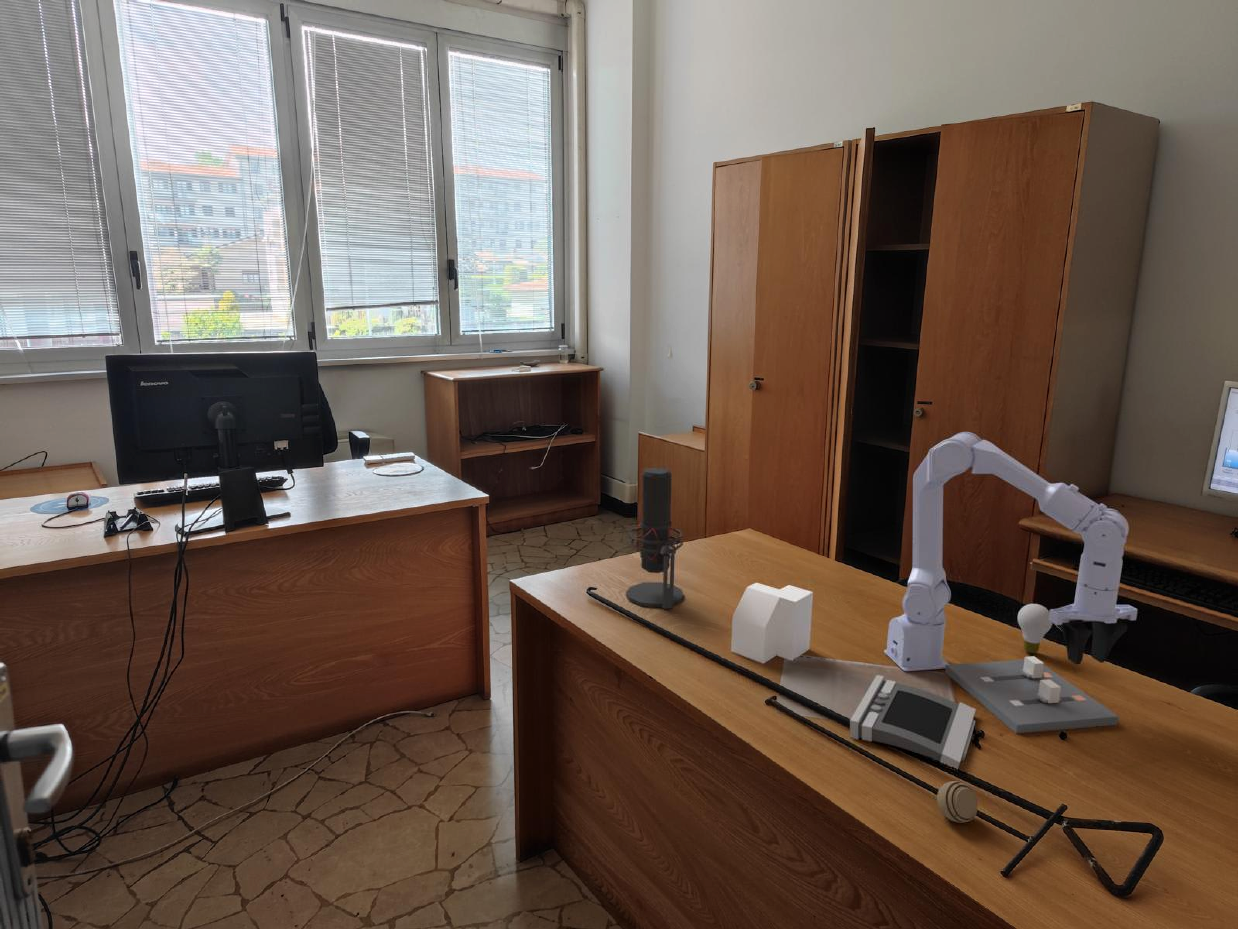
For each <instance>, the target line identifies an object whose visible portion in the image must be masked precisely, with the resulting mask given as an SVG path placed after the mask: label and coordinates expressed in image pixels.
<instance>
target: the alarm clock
mask: <svg viewBox="0 0 1238 929" xmlns="http://www.w3.org/2000/svg"><path fill="white" fill-rule="evenodd" d="M884 676H885V675H878V674H877V675H875V677H874V679H873V681H872V682H871V684H870V686H869V687H868V690H866V692H865V695H864V696H863V697H862V699H861V700H860V702H859V704H858V706H857V708H856V709H855V711H854V712H853V714H852V715H851V718H850V719H849V737H850V738H851V739H853V740H859V739H860V738H861V740H863V741H868V742H870V743H871V742H873V741H874V742H878V743H882V744H886V745H891V746H894V747H897V748H901V749H905V750H907V751H910V752H913V753H916V754H918V753H919V755H921V754H922V755H921V756H923V755H925V756H924V757H926V756H928V757H931V758H933V759H934V760H933V759H932V760H933V761H935V760H938V761H940V762H941V763H944V764H947V765H948V766H950V767H954V768H956V769H957V770H958V768H959V766H960V763H961V762H965V758H966V757H967V753H968V751H969V750H968V749H969V746H970V742H971V738H972V736H973V732H974V728H975V725H976V722H977V721H976V720H975V719H974V717H975V714H976V710H977V709H976V708H974V707H971V706H969V705H967V704H965V703H963V702H959V703H957V702H955V701H953V700H950V699H948V698H946V697H944V696H941V695H938V694H935V693H933V692H930V691H929V690H928V691H927V690H923V689H921V688H917V687H914V686H911V685H906V684H902V683H898V682H897V681H895V680H889V679H887V680H885V677H884ZM928 757H927V758H928Z"/></svg>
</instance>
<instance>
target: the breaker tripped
mask: <svg viewBox="0 0 1238 929" xmlns="http://www.w3.org/2000/svg"><path fill="white" fill-rule="evenodd" d="M1060 690H1061V687H1060V686H1059V685H1057V684H1056V683H1054V682H1053V681H1051V680H1050V679H1049V680H1040V686H1039V693H1038V694H1036V697H1038V698H1039V699H1040V700H1042V701H1043V702H1044V703H1045V702H1048V703H1058V702H1059V701H1061V698H1060Z"/></svg>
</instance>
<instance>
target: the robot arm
mask: <svg viewBox="0 0 1238 929" xmlns="http://www.w3.org/2000/svg"><path fill="white" fill-rule="evenodd" d="M970 468H972V470H971V474H973V475H977V474H978V475H980V474H981V475H983V474H987V475H988V474H989V475H990V474H991V475H994V476H996V477H999V478H1000V479H1002V480H1004V481H1005V482H1007V483H1008V484H1010V485H1011V486H1014V487H1015V488H1017V489H1019V490H1021V491H1022V492H1024V493H1025V494H1027V495H1029V496H1030V497H1032V498H1034V499H1036V501H1037V503H1038V507H1039V511H1041V512H1042V513H1044V514H1045V515H1047V516H1049V517H1050V518H1052V519H1053V520H1055V522H1058V523H1059V524H1061V525H1062V526H1064V527H1065V528H1066V529H1068V530H1070V531H1072V532H1073V533H1074V534H1078V535H1080V536H1081V538H1082V541H1083V543H1084V544H1083V545H1084V546H1083V552H1082V554H1081V555H1080V560H1079V561H1080V562H1079V566H1078V575H1077V581H1076V589H1075V595H1074V602H1073V603H1072V604H1071V603H1070V604H1067V605H1065V606H1061V607H1058V608H1051V609H1049V612H1050V613H1049V621H1051V622H1052V624H1054V625H1056V626H1059V627H1060V631H1061V633H1062V635H1063V638H1064V642H1065V648H1066V652H1067V660H1068V661H1070V662H1072V663H1073V664H1075V665H1081V663H1082V661H1083V658H1084V653H1085V652H1084V651H1085V648H1086V645H1087V642H1088V640H1089V638H1090V636H1091V635H1092V643H1091V649H1090V650H1091V653H1090V654H1091V658H1092V659H1094V660H1096V662H1099V663H1100V664H1101V663H1102V664H1103V663H1105V661H1106V660H1107V658H1108V657H1109V653H1110V652H1111V650H1112V648H1113V647H1114V645H1115V643H1116V642H1117V641H1118V640H1119V639H1120V638H1121V636H1122V635H1123V634H1125V633H1126V632H1127V630H1128V625H1127V624H1126V623H1124V622H1122V620H1125V619H1126V620H1129V621H1136V620H1137V616H1138V608H1136V607H1134V606H1132V605H1129V604H1117V601H1118V593H1119V588H1120V582H1121V581H1120V580H1121V574H1122V568H1123V562H1124V561H1123V557H1124V552H1125V550H1124V546H1125V544H1126V542H1127V536H1128V534H1129V529H1130V528H1129V523H1128V520H1127V519H1126V518H1125V517H1124V515H1122V513H1120V511H1118V510H1116V509H1113V508H1108V507H1107V505H1105V503H1100V504H1098V503H1097V502H1095V501H1094V500H1092V499H1090V498H1089V497H1087V496H1085V495H1084V494H1082V493H1081V492H1079V489H1080V488H1079V487H1078V486H1077V485H1075V484H1074V483H1071V484H1070V485H1067V484H1066V483H1064V482H1056V483H1050V482H1049V481H1047V480H1045V479H1044V478H1043V477H1041V476H1040V475H1038V474H1037V473H1035V472H1034V471H1032V470H1031V469H1030V468H1028V467H1027V466H1026V465H1023V464H1022V463H1021V462H1019V461H1018V460H1017V459H1015V458H1014V457H1012V456H1011V455H1009V454H1008V453H1006V452H1004V451H1003V450H1002V449H1000V448H999V447H998V446H996V445H995V444H993V443H992V442H990V441H988V440H986V439H981V438H980V437H979V436H978V435H977V434H975V433H973V432H969V431H962V432H958V433H956V434H954V435H952V436H951V437H950V438H947V439H944V440H942V441H941V442H939V443H938V444H936V445H934V446H933V447H932V448H930V449H929V450H928V453H927V455H926V456H925V457H924V459H923V460H922V462H921V463H920V465H919V466H918V468H917V469H916V470H915V472H914V473H913V477H912V569H911V572H910V575H909V577H908V579H907V587H906V588H907V589H906V592H905V594H904V596H903V597H902V600H901V601H902V603H901V606H902V610H903V612H904V613H903V614H902V615H900V616H897V617H892V618H891V619H890V621H889V622H888V629H887V640H886V641H887V642H886V649H884V651H883V652H884V654H885V655H886V656H888V657H889V658H890V660H892V661H893V662H894V663H895V664H896V665H897V666H898V667H899V668H900V669H901V670H903V671H904V672H913V671H914V672H915V671H916V672H917V671H927V670H928V671H929V670H939V669H940V670H942V669H944V670H945V668H946V665H951V664H950V663H949V662H948V661H946V660H945V659H944V658H943V657H942V656H943V648H944V640H945V638H944V637H945V630H946V621H947V617H946V614H945V612H944V607H947V606H946V605H948V604H949V602H950V601H951V598H952V593H951V592H952V591H951V589H950V586H949V585H948V582H947V579H946V577H947V574H946V571H945V569H944V568H943V541H944V540H943V537H944V536H943V534H944V533H943V532H944V531H943V528H944V527H943V525H944V522H943V521H944V519H943V518H944V484H946V483H947V482H948V481H949V480H950V479H952V478H953V477H954V476H958V475H961V474H962V473H965V472H966V471H967V470H968V469H970ZM1084 622H1091V626H1092V627H1091V628H1092V630H1091V629H1090V628H1088V627H1086V623H1084Z"/></svg>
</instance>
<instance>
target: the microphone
mask: <svg viewBox="0 0 1238 929" xmlns="http://www.w3.org/2000/svg"><path fill="white" fill-rule="evenodd" d="M641 475H642V480H641V482H642V484H641V485H642V488H641V489H642V490H641V491H642V492H641V500H642V502H641V521H640V523H639V524H638V525H637V527H635V528H634V529H631V531H630V532H629V533H628V536H629V538H630V540H629V542H628V543H629V545H630V548H631V549H634V550H636V551H637V552H638V553H639V554H640V555H639V557H640V558H641V563H640V565H641V566H640V567H641V569H643V570H645V571H646V572H647V573H651V574H652V573H653V574H660V573H663V577H662V578H663V580H662V581H663V582H662V581H656V582H654V581H653V582H652V581H650V582H647V581H646V582H641V583H638V584H635V585H631V586H630V587H628V589H627V590H626V592H625V595H626V598H627V600H628V601H629V602H631V603H632V604H636V605H638V606H641V607H644V608H645V607H646V608H648V607H649V608H662V609H663V610H666V609H673V608H674V605H676V604H679V603H681V601H682V600H683V598H684V596H685V595H684V592H683V590H682V588H680V587H678V586H676V585H674V584H675V557H676V555H675V554H676V553H677V551H678V550H679V549H680V548H681V547H682V546H684V542H683V541H682V540H681V539H682V538H683V534H682V531H681V530H680V529H678V528H674V527H673V526H672V521H671V519H672V518H671V517H672V516H671V515H672V514H671V512H672V510H671V508H672V472H671V469H670V468H669V469H668V468H664V467H647V468H646V469H644V470H642V474H641ZM637 531H641V535H636V536H634V535H633V533H634V532H637ZM671 531H672V532H674V533H675V534H678V537H676V536H673V535H671ZM634 541H637V544H638V545H639V542H640V543H641V547H640V546H636V545H634V544H633V542H634ZM674 543H676V545H675V544H674ZM669 568H670V569H669ZM668 571H670V572H668ZM668 573H669V583H668Z"/></svg>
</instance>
